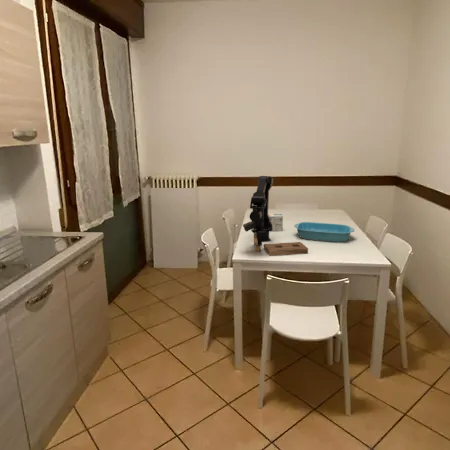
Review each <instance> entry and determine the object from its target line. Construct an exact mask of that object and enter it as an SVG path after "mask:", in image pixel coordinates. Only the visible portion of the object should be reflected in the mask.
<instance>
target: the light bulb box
mask: <svg viewBox="0 0 450 450" xmlns="http://www.w3.org/2000/svg"><path fill="white" fill-rule="evenodd" d="M268 215H269V217H270V222H271V224H272V231H271V232H283V229H284V228H283V226H284V224H283V223H284V219H283V218H284V215H282V213H272V214H271V213H268Z"/></svg>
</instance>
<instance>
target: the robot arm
mask: <svg viewBox="0 0 450 450" xmlns="http://www.w3.org/2000/svg"><path fill="white" fill-rule="evenodd" d="M257 179H258V180H257V188H256V191H255V192H253V194H252V196H251V197H250V205H249V209H251V210H252V211H251V212H250V214H249V219H250V221H249V222H247V223H244V224H243V225H242V227H243V230H244V231H245V232H249V231H250V232H252V233H253V236H254V235H255V236H256V237H257V242H258V245H261V242H262V243H263V242H269V241H271V238H270V232H273V231H272V224H271V222H270V217H269V215H268V214H269V201H270V200H269V199H270V191H271V189H272V187H273V184H274V178H273V177H272V176H269V175H268V176H267V175H260V176H258V178H257ZM254 233H255V234H254Z"/></svg>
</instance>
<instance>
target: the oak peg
mask: <svg viewBox="0 0 450 450" xmlns="http://www.w3.org/2000/svg"><path fill="white" fill-rule="evenodd" d="M254 234H255V233H253V246H255V252H261V246H263V241H262V242H261V245H258V242H257V237H256V236H255V235H254Z"/></svg>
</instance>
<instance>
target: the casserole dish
mask: <svg viewBox="0 0 450 450" xmlns="http://www.w3.org/2000/svg"><path fill="white" fill-rule="evenodd" d="M294 228H296V230H297V234H298V236H299V237H300V238H301V239H303V240H309V241H310V240H311V241H321V242H333V243H334V242H335V243H344V242H346V241H348V239H349V238H350V235H351V233H353V232H355V231H356V230H355V228H354V227H352V226H350V225H347V224H339V223H327V222H314V221H303V222H298V223H296V224H294Z"/></svg>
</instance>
